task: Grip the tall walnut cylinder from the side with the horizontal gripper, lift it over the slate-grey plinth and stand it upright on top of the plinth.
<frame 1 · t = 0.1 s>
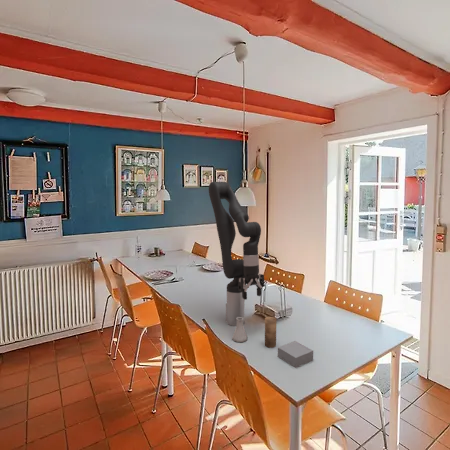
hand: (251, 297, 150), 17 cm above the table, tool pointing down, fingers open, 8 cm apart
flask: (239, 339, 144), on the table
slate plinth: (295, 358, 128), on the table
walnut cylinder: (270, 345, 139), on the table
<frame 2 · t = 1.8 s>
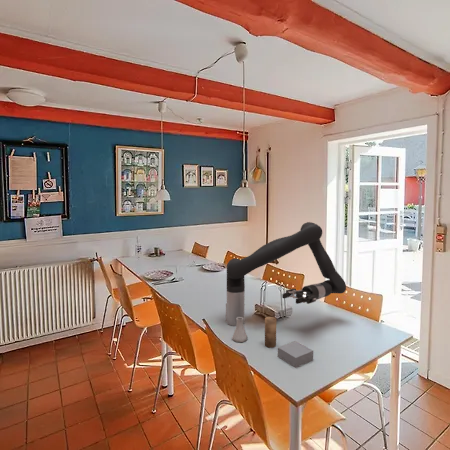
hand: (289, 298, 143), 19 cm above the table, tool horizontal, fingers open, 8 cm apart
nothing on the table moved.
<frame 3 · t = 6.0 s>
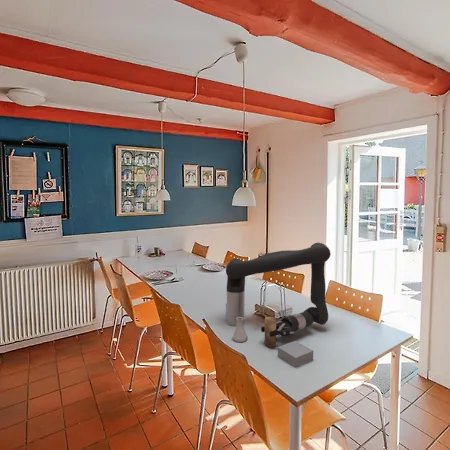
hand: (266, 332, 137), 7 cm above the table, tool horizontal, fingers closed on walnut cylinder, 5 cm apart
walnut cylinder: (270, 344, 139), on the table, touching gripper
everything else where it was.
when the fingers open (12 cm above the table, at t = 10.7 s): walnut cylinder drops 1 cm, resting on slate plinth.
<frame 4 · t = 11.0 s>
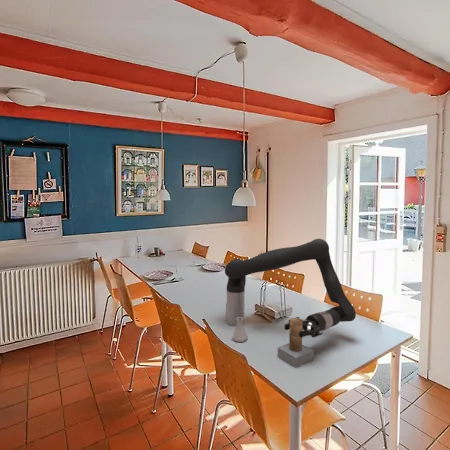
hand: (292, 331, 125), 12 cm above the table, tool horizontal, fingers open, 7 cm apart
walnut cylinder: (295, 348, 127), point 4 cm above the table, touching slate plinth
everything else where it was.
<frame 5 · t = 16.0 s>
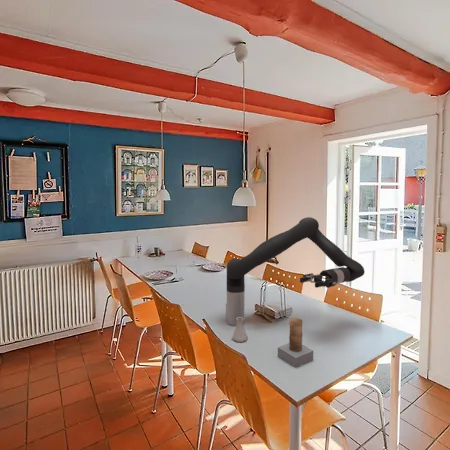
hand: (307, 282, 137), 28 cm above the table, tool horizontal, fingers open, 8 cm apart
nothing on the table moved.
at the end: walnut cylinder 0.1 cm off-centre on the slate plinth, point 4.0 cm above the slate plinth's base; walnut cylinder tilted 0°; the gripper is holding nothing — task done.
